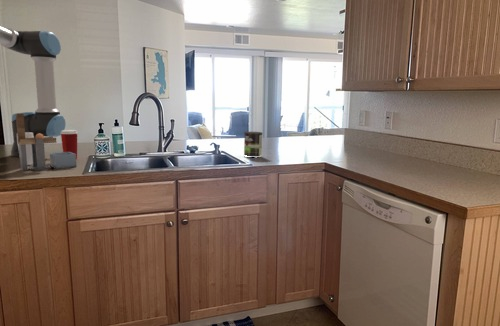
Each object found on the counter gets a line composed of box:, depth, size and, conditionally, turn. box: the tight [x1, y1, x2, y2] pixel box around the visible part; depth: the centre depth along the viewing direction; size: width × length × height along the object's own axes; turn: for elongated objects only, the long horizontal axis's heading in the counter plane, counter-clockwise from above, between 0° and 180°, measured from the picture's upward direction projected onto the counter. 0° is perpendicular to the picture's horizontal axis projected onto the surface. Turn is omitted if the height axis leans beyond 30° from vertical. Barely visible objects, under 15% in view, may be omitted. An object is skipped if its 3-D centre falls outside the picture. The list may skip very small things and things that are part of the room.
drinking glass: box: [17, 132, 34, 166], centre depth 175 cm, size 7×7×15 cm
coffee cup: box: [60, 129, 79, 161], centre depth 191 cm, size 8×8×15 cm
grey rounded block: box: [49, 151, 78, 170], centre depth 173 cm, size 9×9×6 cm
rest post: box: [19, 144, 29, 172], centre depth 162 cm, size 4×2×11 cm, turn 43°
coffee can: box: [243, 131, 263, 156], centre depth 214 cm, size 10×10×14 cm
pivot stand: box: [28, 139, 51, 172], centre depth 166 cm, size 9×6×14 cm, turn 43°
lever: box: [15, 112, 57, 145], centre depth 164 cm, size 6×14×13 cm, turn 133°
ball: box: [36, 133, 45, 139], centre depth 165 cm, size 3×3×3 cm
